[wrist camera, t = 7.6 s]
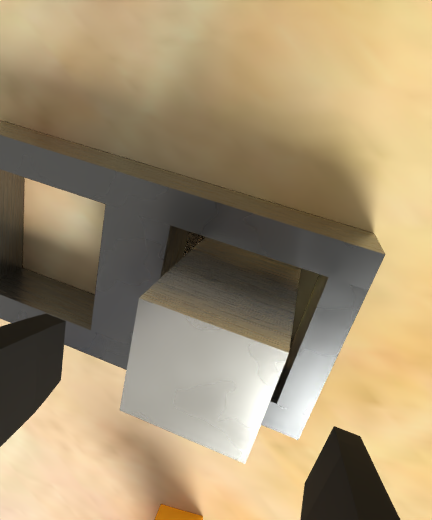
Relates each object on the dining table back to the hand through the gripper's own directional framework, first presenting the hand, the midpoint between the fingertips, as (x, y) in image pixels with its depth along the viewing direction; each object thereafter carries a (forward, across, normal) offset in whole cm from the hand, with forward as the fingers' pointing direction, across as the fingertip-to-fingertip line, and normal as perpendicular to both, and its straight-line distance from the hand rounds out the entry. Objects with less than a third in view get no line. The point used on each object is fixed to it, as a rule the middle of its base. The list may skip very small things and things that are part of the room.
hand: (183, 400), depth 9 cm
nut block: (+7, 0, 0) cm, 7 cm away
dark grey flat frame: (+7, +4, 0) cm, 8 cm away
